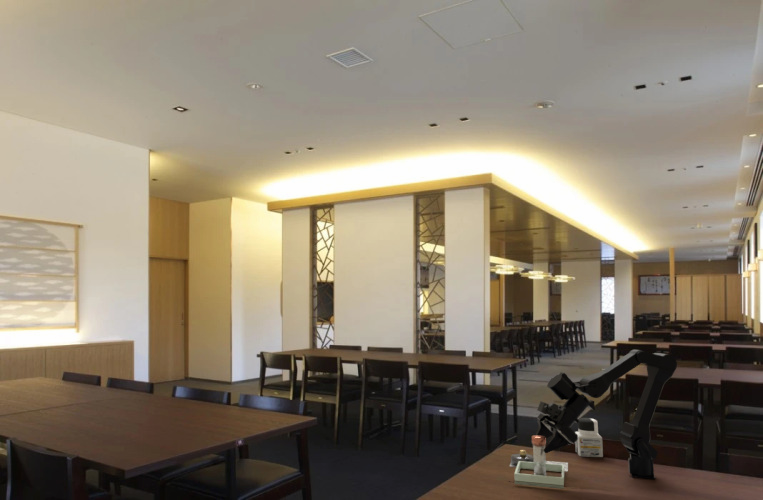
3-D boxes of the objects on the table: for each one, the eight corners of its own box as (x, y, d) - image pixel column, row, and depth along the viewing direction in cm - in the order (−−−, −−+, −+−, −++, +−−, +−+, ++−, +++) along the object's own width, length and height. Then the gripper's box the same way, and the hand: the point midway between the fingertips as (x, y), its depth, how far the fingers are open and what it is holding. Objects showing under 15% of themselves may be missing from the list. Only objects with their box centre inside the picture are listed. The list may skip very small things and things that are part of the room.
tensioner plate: (568, 465, 179) (567, 450, 180) (567, 474, 170) (567, 458, 170) (512, 461, 185) (512, 446, 186) (509, 469, 176) (509, 453, 176)
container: (579, 459, 187) (578, 420, 188) (575, 453, 194) (574, 416, 196) (603, 460, 186) (601, 421, 187) (598, 454, 193) (596, 417, 194)
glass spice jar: (544, 474, 168) (542, 435, 169) (549, 479, 164) (547, 438, 165) (531, 475, 167) (529, 435, 169) (536, 479, 163) (534, 438, 165)
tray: (564, 474, 170) (564, 464, 170) (563, 488, 156) (563, 478, 157) (518, 470, 174) (518, 461, 175) (514, 484, 161) (514, 473, 161)
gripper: (541, 387, 178) (510, 423, 176) (565, 397, 159) (530, 436, 157) (566, 411, 178) (535, 447, 176) (592, 423, 159) (558, 463, 157)
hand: (538, 448), depth 166 cm, fingers open, 9 cm apart
